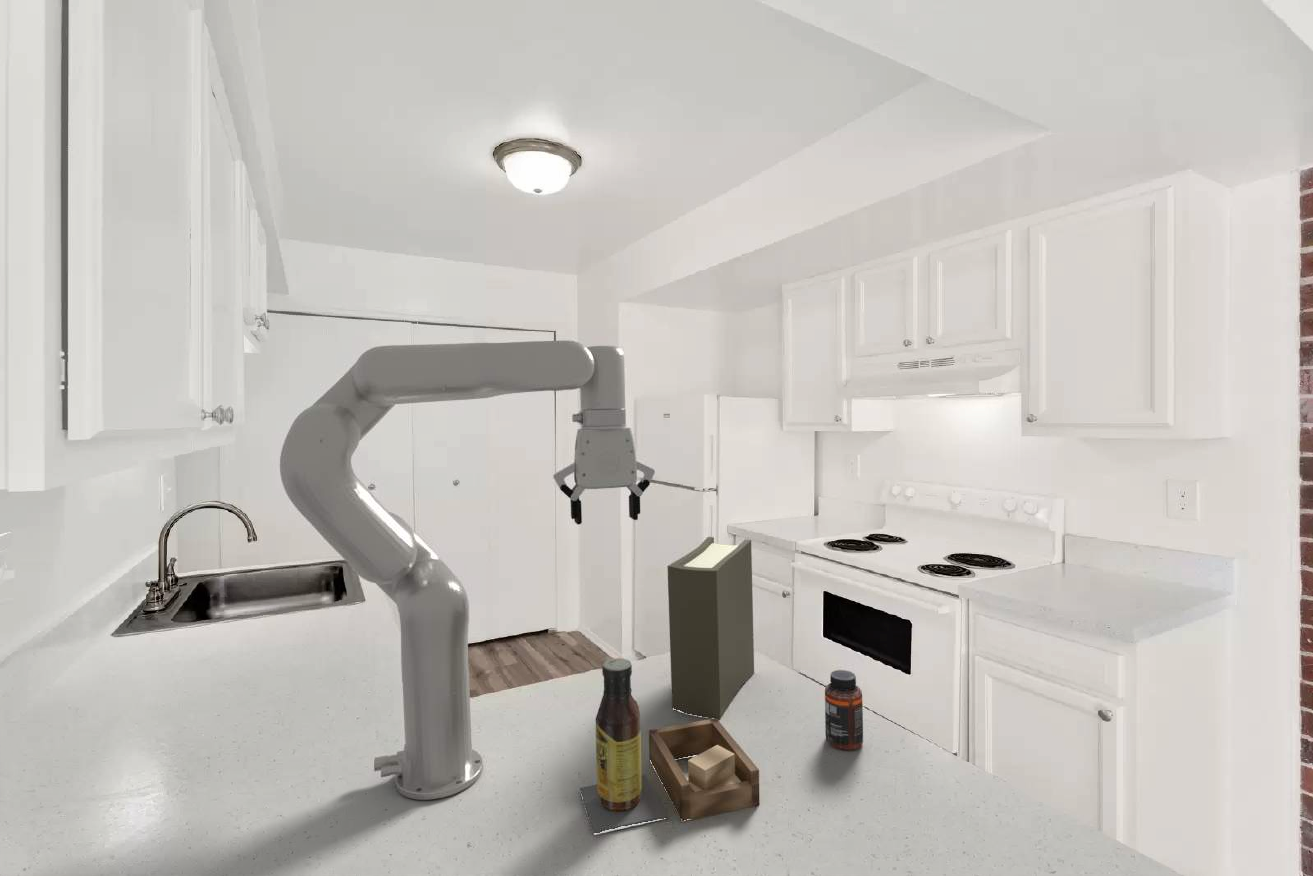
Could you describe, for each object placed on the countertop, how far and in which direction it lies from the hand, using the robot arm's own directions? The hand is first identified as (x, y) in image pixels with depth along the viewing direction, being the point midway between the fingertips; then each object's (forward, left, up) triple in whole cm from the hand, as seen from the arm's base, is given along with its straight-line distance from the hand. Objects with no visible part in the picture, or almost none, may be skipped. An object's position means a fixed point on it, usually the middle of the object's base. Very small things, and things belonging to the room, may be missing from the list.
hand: (606, 520), depth 108 cm
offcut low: (+9, -24, -37) cm, 45 cm away
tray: (+9, -19, -36) cm, 42 cm away
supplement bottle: (+35, -17, -36) cm, 53 cm away
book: (+22, +7, -36) cm, 43 cm away
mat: (-4, -21, -36) cm, 42 cm away
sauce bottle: (-4, -21, -36) cm, 42 cm away
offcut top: (+9, -23, -34) cm, 42 cm away
